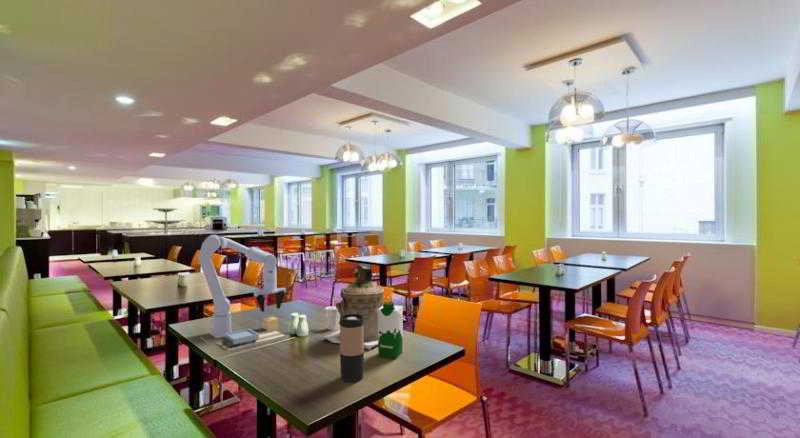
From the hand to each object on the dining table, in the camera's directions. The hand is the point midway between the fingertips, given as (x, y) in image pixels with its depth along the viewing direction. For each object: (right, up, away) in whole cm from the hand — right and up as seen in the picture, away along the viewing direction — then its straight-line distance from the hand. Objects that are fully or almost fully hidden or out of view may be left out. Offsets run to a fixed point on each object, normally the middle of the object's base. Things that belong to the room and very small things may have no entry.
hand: (270, 309), depth 181 cm
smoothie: (+28, -9, +1) cm, 30 cm away
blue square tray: (-6, -9, -19) cm, 22 cm away
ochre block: (0, -9, 0) cm, 9 cm away
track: (-2, -9, -16) cm, 18 cm away
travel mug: (+44, -10, -53) cm, 70 cm away
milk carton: (+56, -10, -32) cm, 66 cm away
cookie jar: (+43, -10, -12) cm, 46 cm away
